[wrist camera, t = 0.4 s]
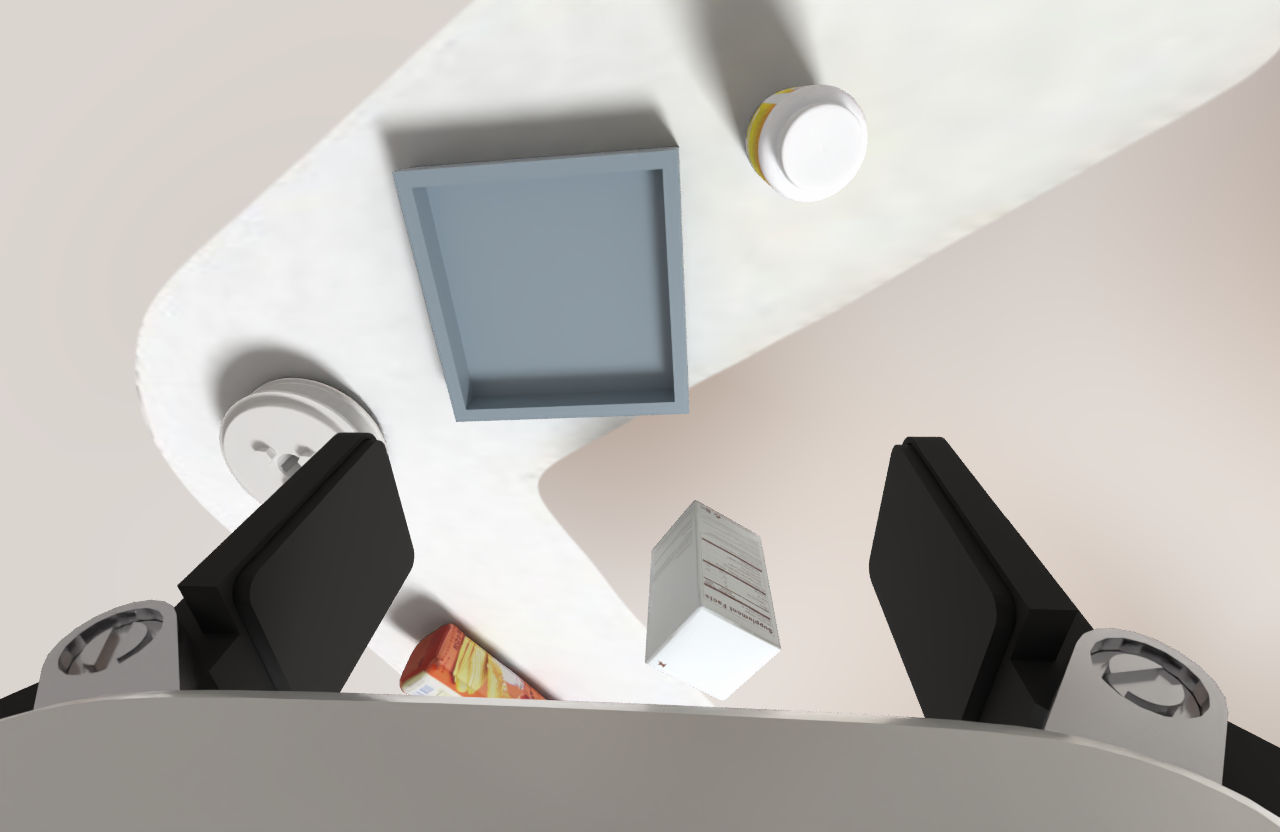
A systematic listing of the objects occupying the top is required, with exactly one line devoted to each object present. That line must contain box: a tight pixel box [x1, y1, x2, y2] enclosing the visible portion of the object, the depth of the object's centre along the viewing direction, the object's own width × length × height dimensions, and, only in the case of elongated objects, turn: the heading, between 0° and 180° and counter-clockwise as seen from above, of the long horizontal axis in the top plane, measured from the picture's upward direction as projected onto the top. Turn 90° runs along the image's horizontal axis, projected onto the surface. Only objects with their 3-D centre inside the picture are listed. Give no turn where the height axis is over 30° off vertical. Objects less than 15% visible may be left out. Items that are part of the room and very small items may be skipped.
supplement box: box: [645, 501, 781, 700], centre depth 48 cm, size 7×7×13 cm
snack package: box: [400, 623, 546, 700], centre depth 62 cm, size 21×7×7 cm, turn 39°
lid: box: [219, 378, 388, 504], centre depth 49 cm, size 13×13×5 cm
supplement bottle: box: [745, 85, 868, 202], centre depth 33 cm, size 6×6×10 cm
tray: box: [392, 146, 689, 422], centre depth 42 cm, size 18×18×3 cm
